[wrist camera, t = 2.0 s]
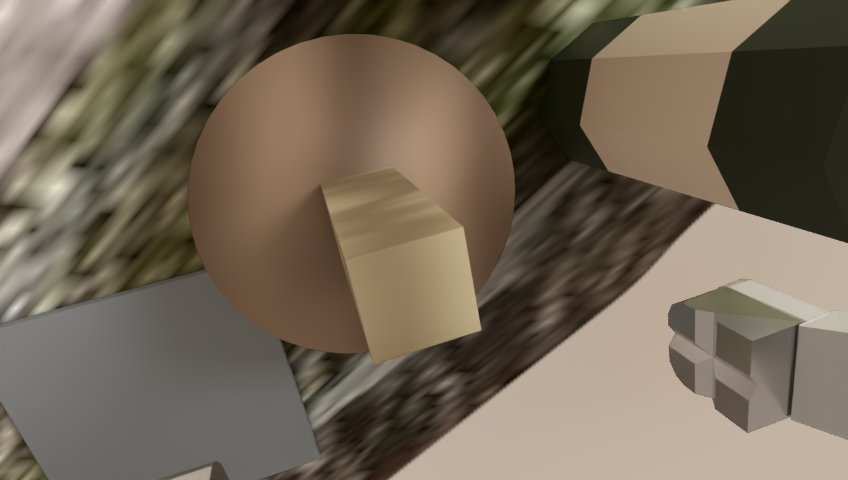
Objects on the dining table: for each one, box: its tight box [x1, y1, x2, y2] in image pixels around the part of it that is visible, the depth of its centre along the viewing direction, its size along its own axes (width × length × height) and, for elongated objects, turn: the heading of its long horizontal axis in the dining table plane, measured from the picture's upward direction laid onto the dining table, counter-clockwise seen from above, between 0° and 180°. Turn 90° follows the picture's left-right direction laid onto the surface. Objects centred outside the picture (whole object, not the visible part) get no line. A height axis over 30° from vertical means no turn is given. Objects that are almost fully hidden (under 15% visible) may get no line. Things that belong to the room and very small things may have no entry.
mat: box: [0, 269, 320, 480], centre depth 28 cm, size 14×14×1 cm
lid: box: [188, 34, 515, 364], centre depth 17 cm, size 14×14×10 cm
